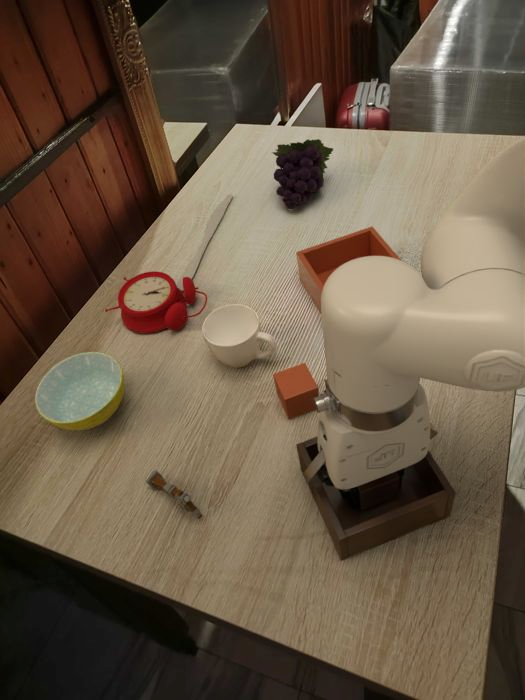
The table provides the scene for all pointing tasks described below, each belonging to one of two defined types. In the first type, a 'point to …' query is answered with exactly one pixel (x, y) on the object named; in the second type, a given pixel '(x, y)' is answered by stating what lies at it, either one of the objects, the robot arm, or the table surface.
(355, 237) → the terracotta bin
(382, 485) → the walnut block
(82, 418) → the bowl
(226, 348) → the cup
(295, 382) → the terracotta block
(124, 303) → the alarm clock
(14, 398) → the table surface
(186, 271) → the butter knife
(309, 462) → the walnut bin
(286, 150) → the fruit
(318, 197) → the table surface
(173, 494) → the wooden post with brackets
